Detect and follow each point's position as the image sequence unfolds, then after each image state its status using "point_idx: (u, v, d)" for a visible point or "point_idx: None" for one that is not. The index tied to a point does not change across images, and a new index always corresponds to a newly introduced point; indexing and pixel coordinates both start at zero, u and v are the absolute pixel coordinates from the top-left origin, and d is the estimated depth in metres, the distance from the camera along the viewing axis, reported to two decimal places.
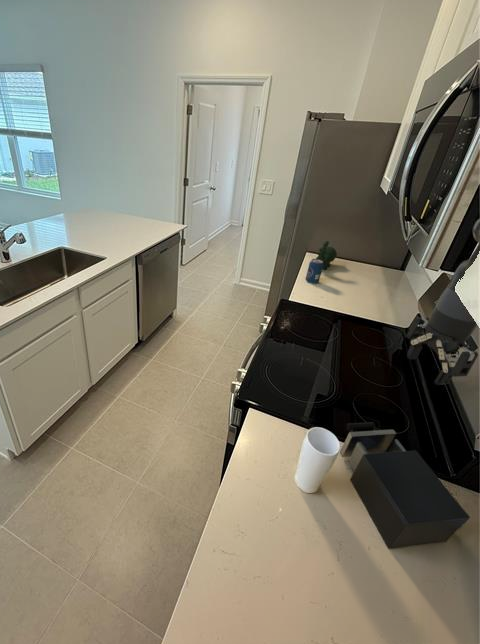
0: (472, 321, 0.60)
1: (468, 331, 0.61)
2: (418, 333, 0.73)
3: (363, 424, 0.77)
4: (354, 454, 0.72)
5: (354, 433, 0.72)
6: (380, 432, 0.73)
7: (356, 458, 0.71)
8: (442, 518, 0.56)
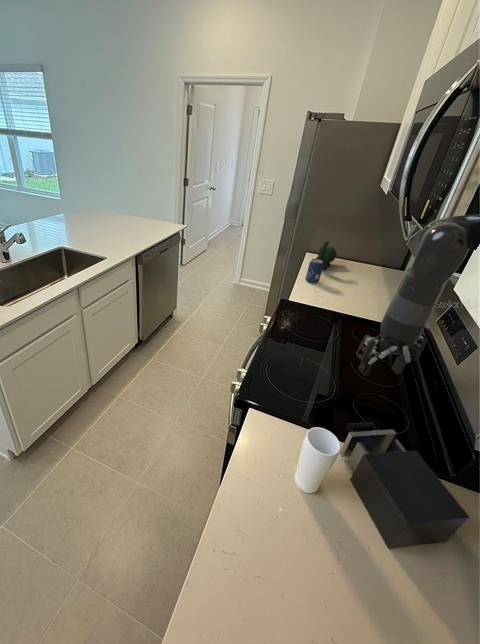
0: (389, 315, 0.65)
1: (386, 326, 0.66)
2: None
3: (363, 424, 0.77)
4: (354, 454, 0.72)
5: (354, 433, 0.72)
6: (380, 432, 0.73)
7: (356, 458, 0.71)
8: (442, 518, 0.56)
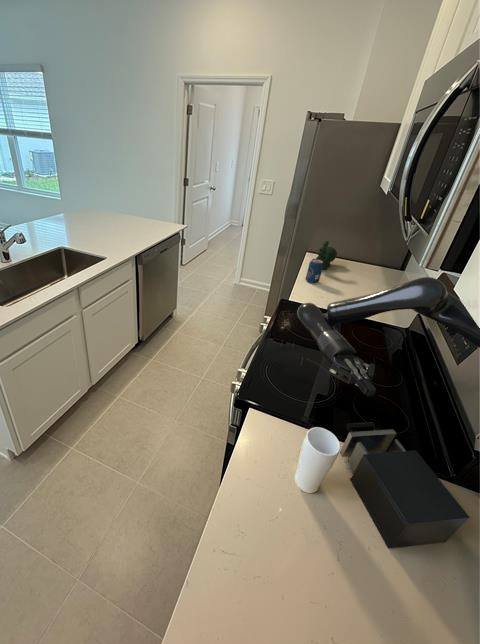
0: (323, 350, 0.88)
1: (328, 354, 0.86)
2: None
3: (363, 424, 0.77)
4: (354, 454, 0.72)
5: (354, 433, 0.72)
6: (380, 432, 0.73)
7: (356, 458, 0.71)
8: (442, 518, 0.56)
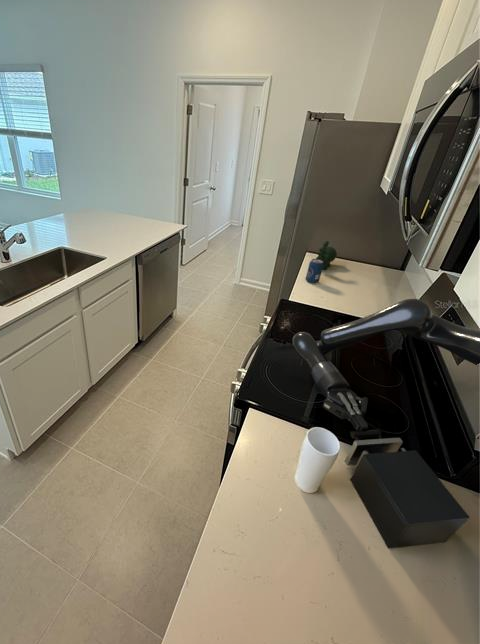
0: (317, 382, 0.90)
1: (321, 387, 0.88)
2: None
3: (368, 432, 0.75)
4: None
5: (359, 441, 0.70)
6: (386, 440, 0.71)
7: None
8: (442, 518, 0.56)
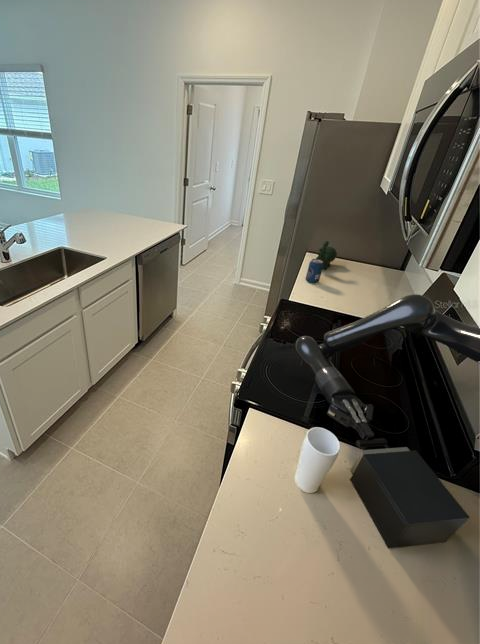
0: (321, 388, 0.88)
1: (326, 393, 0.86)
2: None
3: (375, 441, 0.73)
4: None
5: (366, 451, 0.68)
6: (393, 450, 0.69)
7: None
8: (442, 518, 0.56)
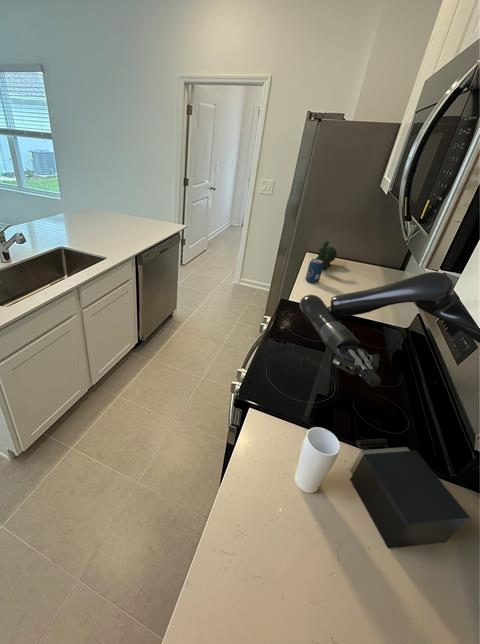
0: (326, 341, 0.87)
1: (331, 345, 0.84)
2: None
3: (375, 441, 0.73)
4: None
5: (366, 451, 0.68)
6: (393, 450, 0.69)
7: None
8: (442, 518, 0.56)
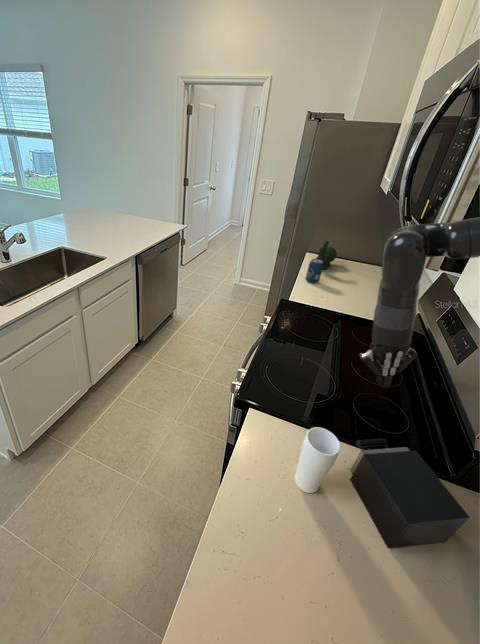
0: (375, 323, 0.68)
1: (375, 333, 0.68)
2: None
3: (375, 441, 0.73)
4: None
5: (366, 451, 0.68)
6: (393, 450, 0.69)
7: None
8: (442, 518, 0.56)
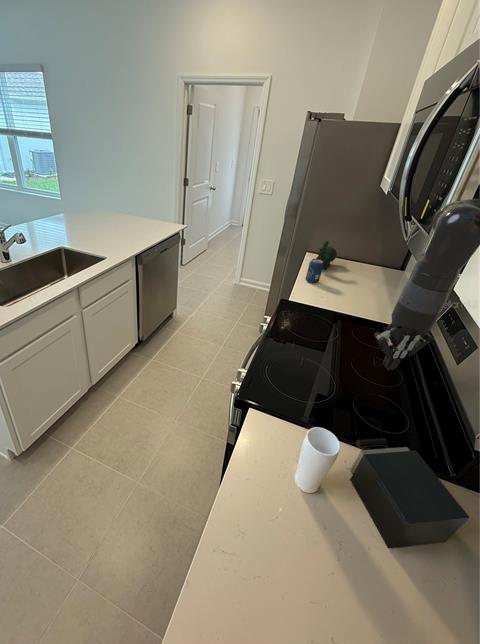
0: (401, 303, 0.63)
1: (398, 314, 0.64)
2: None
3: (375, 441, 0.73)
4: None
5: (366, 451, 0.68)
6: (393, 450, 0.69)
7: None
8: (442, 518, 0.56)
